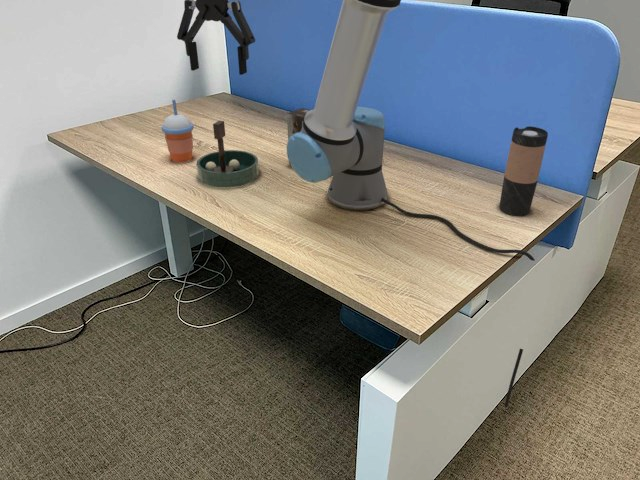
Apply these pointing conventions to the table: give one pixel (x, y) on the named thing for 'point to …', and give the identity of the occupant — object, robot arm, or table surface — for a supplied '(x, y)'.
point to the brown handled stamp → (221, 146)
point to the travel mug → (522, 170)
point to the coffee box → (295, 121)
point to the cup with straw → (178, 136)
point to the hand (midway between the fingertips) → (218, 71)
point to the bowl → (229, 179)
